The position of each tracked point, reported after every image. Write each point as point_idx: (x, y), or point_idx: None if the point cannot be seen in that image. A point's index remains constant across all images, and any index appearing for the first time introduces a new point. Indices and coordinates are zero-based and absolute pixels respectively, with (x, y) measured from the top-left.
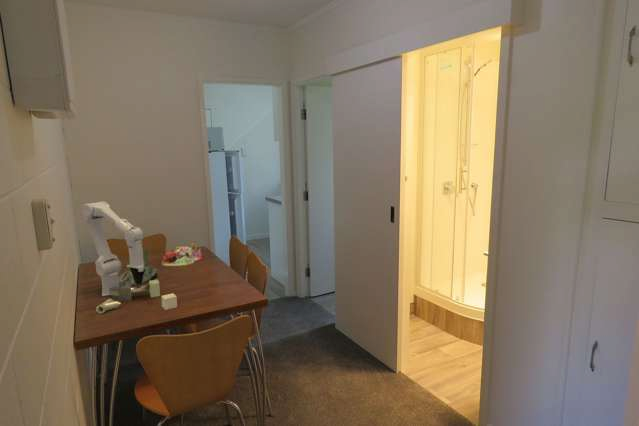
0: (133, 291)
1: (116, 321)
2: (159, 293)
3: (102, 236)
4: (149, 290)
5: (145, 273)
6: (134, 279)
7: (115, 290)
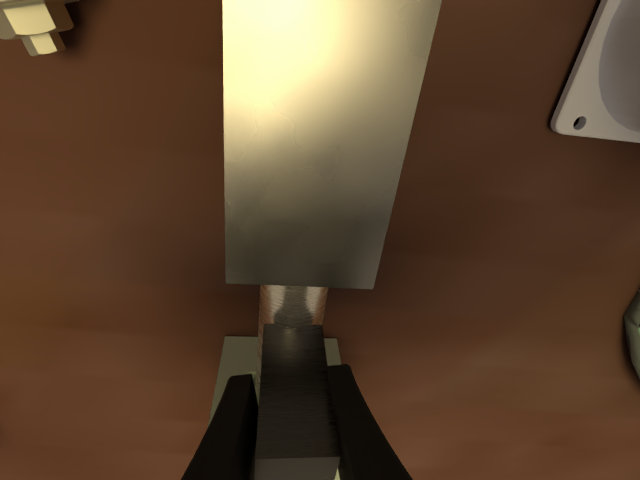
0: None
1: None
2: None
3: None
4: (332, 362)
5: None
6: (337, 411)
7: (223, 23)
